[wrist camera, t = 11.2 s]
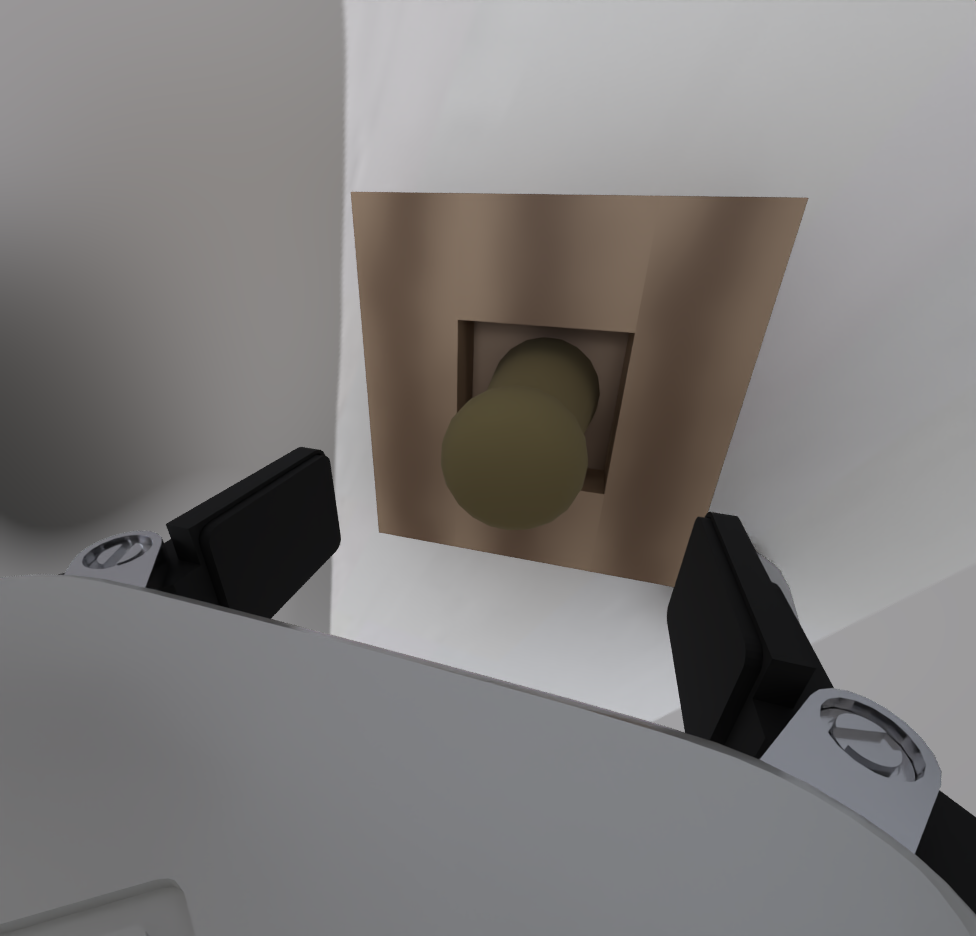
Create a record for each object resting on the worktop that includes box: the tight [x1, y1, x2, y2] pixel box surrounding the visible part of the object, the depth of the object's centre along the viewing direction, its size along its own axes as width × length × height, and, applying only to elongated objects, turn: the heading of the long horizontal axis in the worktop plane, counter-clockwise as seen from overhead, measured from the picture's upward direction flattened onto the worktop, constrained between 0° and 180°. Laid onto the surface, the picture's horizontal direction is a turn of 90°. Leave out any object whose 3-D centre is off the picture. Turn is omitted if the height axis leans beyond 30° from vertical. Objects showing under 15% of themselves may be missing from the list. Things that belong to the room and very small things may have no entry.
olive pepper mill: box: [441, 337, 600, 530], centre depth 18 cm, size 6×6×11 cm
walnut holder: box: [351, 192, 808, 587], centre depth 22 cm, size 18×18×4 cm
